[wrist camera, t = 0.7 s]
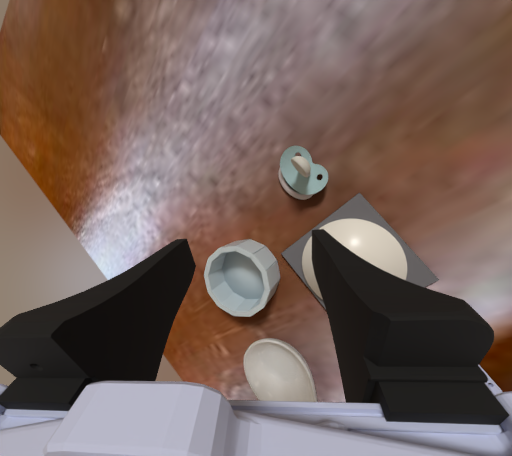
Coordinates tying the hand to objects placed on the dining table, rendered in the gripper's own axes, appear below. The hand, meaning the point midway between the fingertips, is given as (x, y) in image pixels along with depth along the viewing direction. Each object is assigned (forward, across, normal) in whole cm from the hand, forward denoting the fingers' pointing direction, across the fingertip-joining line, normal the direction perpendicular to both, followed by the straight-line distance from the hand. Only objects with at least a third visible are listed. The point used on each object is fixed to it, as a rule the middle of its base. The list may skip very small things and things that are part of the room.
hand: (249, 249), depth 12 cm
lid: (+14, -11, +13) cm, 22 cm away
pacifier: (+21, -6, +2) cm, 22 cm away
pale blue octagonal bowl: (+18, +4, +17) cm, 25 cm away
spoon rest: (+8, -4, +35) cm, 36 cm away
